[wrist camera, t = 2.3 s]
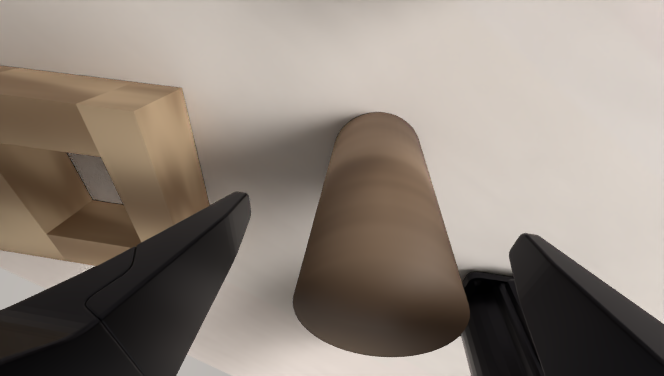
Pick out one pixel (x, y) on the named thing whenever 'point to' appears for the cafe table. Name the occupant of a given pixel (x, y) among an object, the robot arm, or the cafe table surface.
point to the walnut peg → (380, 249)
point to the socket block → (94, 140)
